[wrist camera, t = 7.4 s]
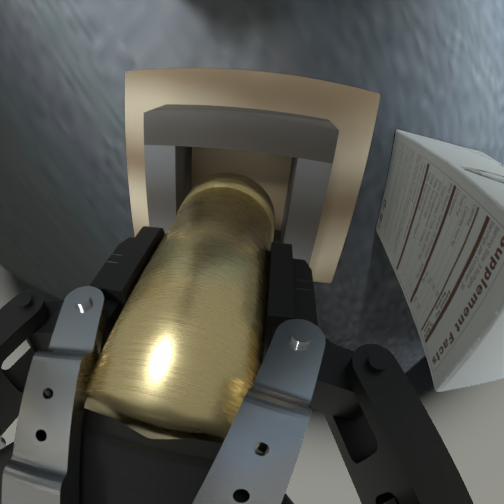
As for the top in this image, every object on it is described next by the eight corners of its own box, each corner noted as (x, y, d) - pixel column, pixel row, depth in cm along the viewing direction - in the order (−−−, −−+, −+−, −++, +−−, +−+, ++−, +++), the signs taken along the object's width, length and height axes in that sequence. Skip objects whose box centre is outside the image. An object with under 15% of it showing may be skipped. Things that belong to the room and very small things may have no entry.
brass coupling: (184, 168, 12) (46, 362, 4) (280, 178, 12) (275, 417, 4) (185, 247, 15) (108, 438, 7) (268, 258, 15) (250, 469, 6)
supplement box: (481, 149, 14) (612, 257, 4) (453, 239, 19) (533, 374, 8) (392, 124, 15) (543, 238, 4) (370, 230, 19) (432, 400, 9)
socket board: (134, 70, 14) (97, 74, 11) (373, 92, 14) (401, 100, 10) (143, 248, 21) (121, 284, 18) (329, 272, 21) (336, 314, 18)
